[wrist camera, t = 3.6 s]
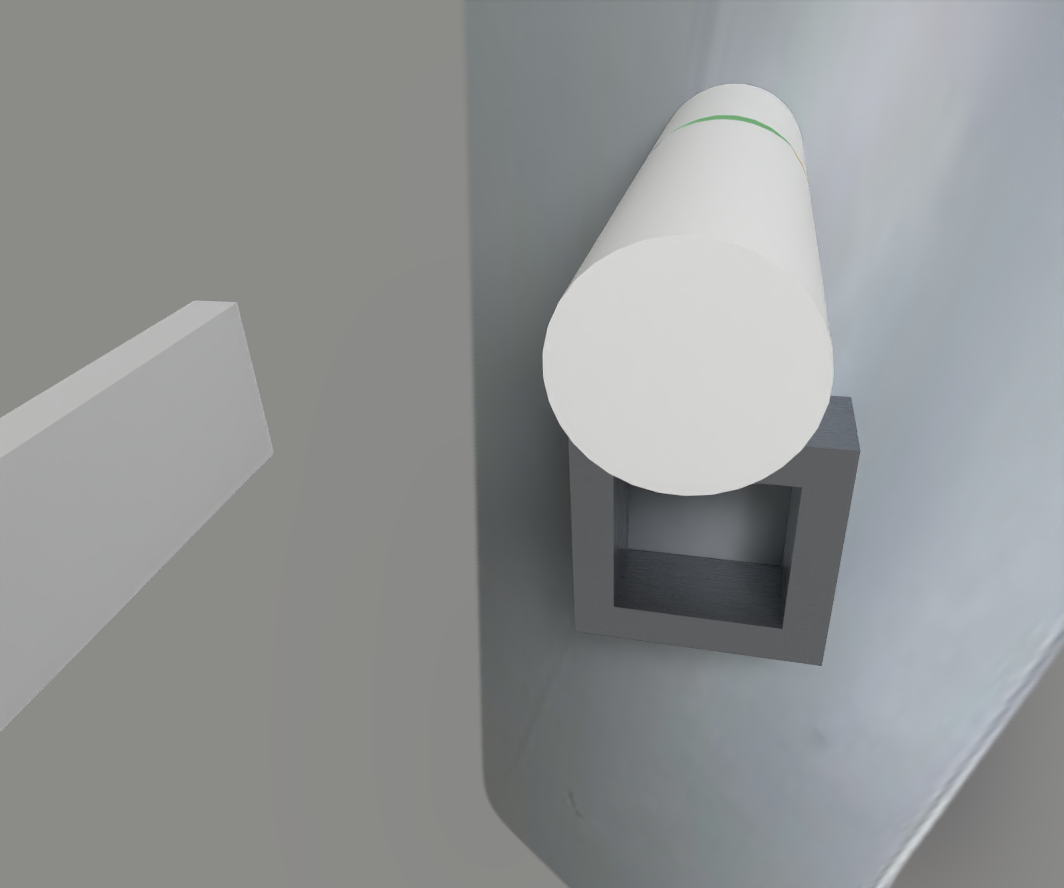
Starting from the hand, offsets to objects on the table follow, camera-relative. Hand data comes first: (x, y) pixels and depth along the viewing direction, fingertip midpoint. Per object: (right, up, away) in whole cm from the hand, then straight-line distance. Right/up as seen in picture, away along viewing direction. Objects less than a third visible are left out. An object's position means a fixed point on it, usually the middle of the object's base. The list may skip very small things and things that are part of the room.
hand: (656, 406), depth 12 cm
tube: (+4, +8, +13) cm, 16 cm away
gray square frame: (+5, -2, +19) cm, 20 cm away
